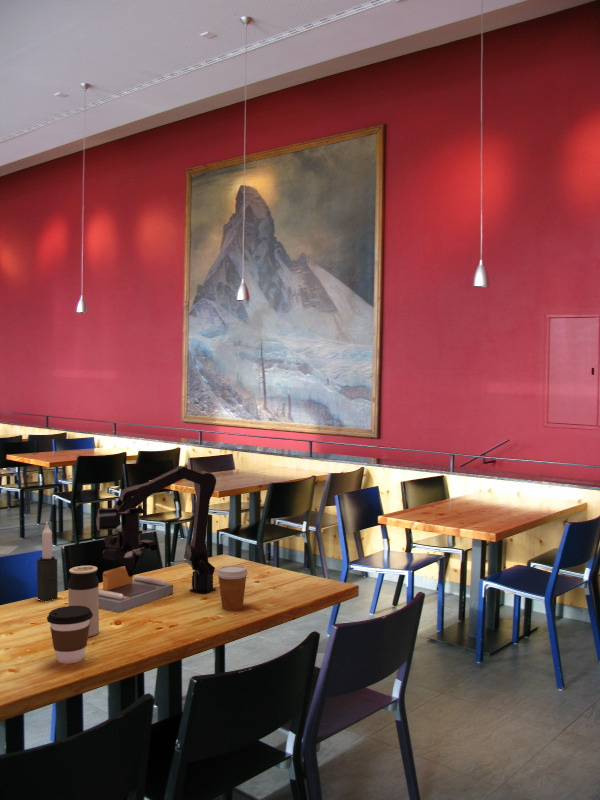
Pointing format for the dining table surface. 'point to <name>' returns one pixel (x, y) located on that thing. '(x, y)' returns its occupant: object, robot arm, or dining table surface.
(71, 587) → the travel mug
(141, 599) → the grey flat rectangular tray
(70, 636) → the coffee cup
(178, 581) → the dining table surface
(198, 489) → the robot arm
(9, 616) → the dining table surface
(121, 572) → the orange rectangular slab
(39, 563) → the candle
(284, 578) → the dining table surface
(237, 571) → the disposable coffee cup
